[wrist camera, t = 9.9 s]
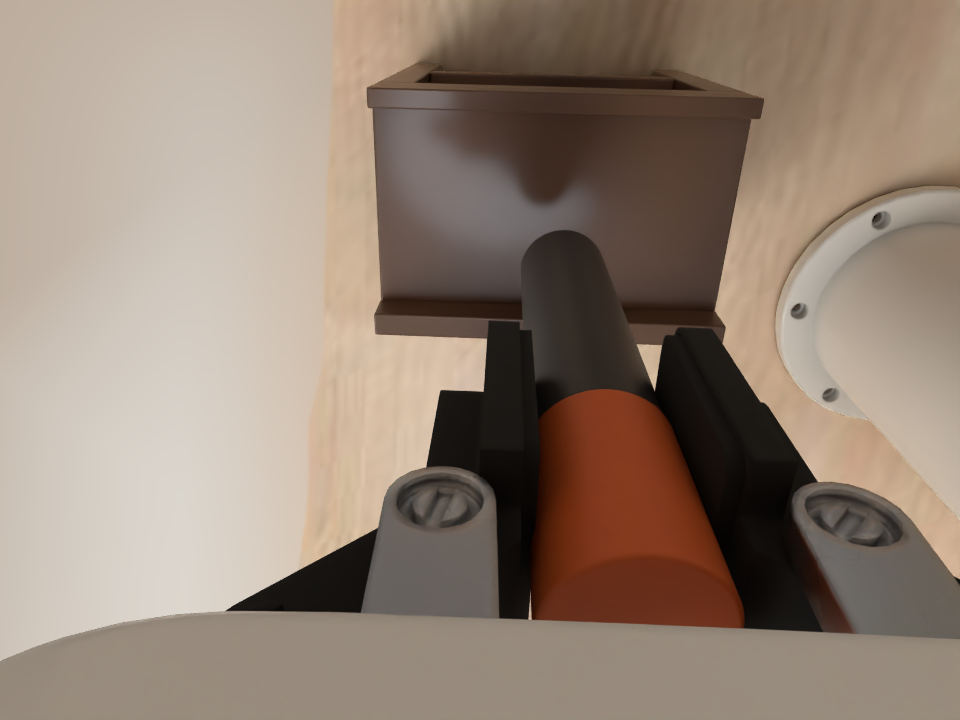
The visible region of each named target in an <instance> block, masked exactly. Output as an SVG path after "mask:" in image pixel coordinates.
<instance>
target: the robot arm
mask: <svg viewBox="0 0 960 720" xmlns="http://www.w3.org/2000/svg"><path fill="white" fill-rule="evenodd" d="M876 214H877V217H876V218H875V219H874V220H872V219H873V217H874V216H875V215H876ZM796 304H798V305H797V306H796V307H795V308H793V306H795V305H796ZM775 335H776V341H777V348H778V352H779V354H780V357H781V359H782V362H783V364H784V367H785V369H786V370H787V371H788V373H789V374H790V376H791V377H792V379H793V380H794V381H795V383H796V384H797V385H798V386H799V387H800V388H801V389H802V391H803V392H804V393H805V394H806V395H807V396H808V397H809V398H811V399H812V400H813V401H815V402H816V403H817V404H819V405H820V406H822V407H824V408H826V409H829V410H831V411H833V412H836V413H838V414H840V415H843V416H848V417H853V418H857V419H862V420H870V421H871V422H872V423H873V425H874V426H875V427H876V428H877V429H878V430H879V431H880V432H881V434H882V435H883V436H884V437H885V438H886V439H887V440H888V441H889V443H890V444H891V445H892V446H893V447H894V448H895V449H896V450H897V452H898V453H899V454H900V455H901V456H902V457H903V458H904V459H905V461H906V462H907V463H908V464H909V465H910V466H911V467H912V468H913V470H914V471H915V472H916V473H917V474H918V475H919V476H920V477H921V479H922V480H923V481H924V482H925V483H926V484H927V485H928V486H929V488H930V489H931V490H932V491H933V492H934V493H935V494H936V495H937V497H938V498H939V499H940V500H941V501H942V502H943V503H944V504H945V506H946V507H947V508H948V509H949V510H950V511H951V512H952V513H953V515H954V516H955V517H956V518H957V519H958V520H959V521H960V188H958V187H954V186H921V187H915V188H908V189H902V190H898V191H895V192H892V193H889V194H886V195H883V196H880V197H877V198H874V199H872V200H870V201H868V202H866V203H864V204H862V205H860V206H858V207H856V208H854V209H853V210H851V211H849V212H848V213H846V214H845V215H843V216H842V217H841V218H839V219H838V220H836V221H835V222H834V223H832V224H831V225H830V226H828V227H827V228H826V229H825V230H824V231H823V232H822V233H821V234H820V235H819V236H818V237H817V238H816V239H815V240H814V241H813V242H812V243H811V244H810V245H809V246H808V247H807V248H806V250H805V251H804V253H803V254H802V255H801V257H800V258H799V259H798V261H797V262H796V263H795V265H794V266H793V268H792V270H791V272H790V274H789V276H788V278H787V280H786V282H785V284H784V286H783V288H782V292H781V295H780V299H779V302H778V306H777V309H776V322H775ZM655 394H656V396H657V399H658V401H659V404H660V407H661V409H662V412H663V414H664V415H665V416H666V418H667V419H668V421H669V422H670V424H671V426H672V428H673V431H674V433H675V436H676V438H677V441H678V443H679V446H680V448H681V451H682V453H683V456H684V458H685V461H686V463H687V466H688V469H689V471H690V474H691V476H692V479H693V481H694V484H695V486H696V489H697V491H698V494H699V496H700V499H701V501H702V504H703V506H704V509H705V511H706V514H707V516H708V519H709V521H710V524H711V526H712V529H713V532H714V534H715V537H716V539H717V542H718V544H719V547H720V549H721V552H722V554H723V557H724V559H725V562H726V564H727V567H728V569H729V572H730V574H731V577H732V579H733V582H734V584H735V587H736V589H737V592H738V595H739V597H740V600H741V602H742V605H743V610H744V616H745V625H744V629H740V628H717V627H694V626H671V625H648V624H626V623H601V622H576V621H551V620H528V617H529V604H530V590H531V585H530V557H529V551H530V544H531V540H532V537H533V534H534V532H535V523H536V510H537V496H538V483H539V468H540V439H539V425H538V411H537V398H536V384H535V370H534V356H533V342H532V330H520V322H519V321H491V320H489V322H488V337H487V352H486V367H485V382H484V392H476V391H449V390H441V391H440V395H439V400H438V406H437V411H436V417H435V422H434V428H433V433H432V439H431V444H430V450H429V455H428V461H427V466H426V468H422V469H418V470H415V471H411V472H409V473H407V474H405V475H404V476H402V477H400V478H398V479H397V480H396V481H395V482H394V483H393V484H392V485H391V486H390V487H389V489H388V491H387V493H386V495H385V497H384V502H383V506H382V511H381V516H380V521H379V526H378V528H377V529H375V530H373V531H371V532H369V533H368V534H366V535H364V536H362V537H360V538H358V539H356V540H355V541H353V542H351V543H349V544H347V545H345V546H343V547H342V548H340V549H338V550H336V551H334V552H332V553H330V554H328V555H327V556H325V557H323V558H321V559H319V560H317V561H315V562H314V563H312V564H310V565H308V566H306V567H304V568H302V569H300V570H299V571H297V572H295V573H293V574H291V575H289V576H288V577H286V578H284V579H282V580H280V581H278V582H276V583H275V584H273V585H271V586H269V587H267V588H265V589H263V590H261V591H260V592H258V593H256V594H254V595H252V596H250V597H248V598H246V599H245V600H243V601H241V602H239V603H237V604H236V605H233V606H232V607H231V608H229V609H228V610H226V611H224V612H208V613H193V614H192V613H191V614H176V615H170V616H163V617H156V618H149V619H143V620H136V621H129V622H123V623H118V624H114V625H111V626H106V627H102V628H98V629H95V630H91V631H86V632H83V633H79V634H75V635H71V636H67V637H63V638H60V639H58V640H54V641H51V642H49V643H45V644H42V645H39V646H36V647H34V648H31V649H29V650H26V651H24V652H21V653H19V654H16V655H14V656H11V657H9V658H7V659H4V660H2V661H0V720H960V579H958V578H956V577H954V576H953V575H952V574H951V573H950V571H949V570H948V569H947V567H946V566H945V565H944V563H943V562H942V561H941V559H940V558H939V556H938V555H937V554H936V552H935V551H934V550H933V548H932V547H931V546H930V544H929V543H928V542H927V540H926V539H925V538H924V536H923V535H922V534H921V532H920V531H919V530H918V528H917V527H916V526H915V524H914V523H913V522H912V520H911V519H910V518H909V517H908V516H907V515H906V514H905V513H904V512H903V511H902V510H901V509H900V508H899V507H897V506H896V505H894V504H893V503H891V502H890V501H888V500H887V499H885V498H883V497H881V496H879V495H877V494H875V493H873V492H870V491H868V490H866V489H862V488H859V487H856V486H852V485H849V484H843V483H836V482H818V481H817V480H816V478H815V477H814V475H813V474H812V472H811V471H810V469H809V468H808V466H807V465H806V463H805V462H804V460H803V459H802V457H801V456H800V454H799V453H798V451H797V450H796V448H795V447H794V445H793V444H792V442H791V441H790V439H789V438H788V436H787V435H786V433H785V431H784V430H783V428H782V427H781V425H780V424H779V422H778V421H777V419H776V418H775V416H774V415H773V413H772V412H771V410H770V409H769V407H768V406H767V405H766V404H765V403H761V402H760V401H759V400H758V398H757V396H756V395H755V393H754V392H753V390H752V389H751V387H750V386H749V384H748V383H747V381H746V379H745V378H744V376H743V375H742V373H741V372H740V370H739V369H738V367H737V366H736V364H735V362H734V361H733V359H732V358H731V356H730V355H729V353H728V352H727V350H726V349H725V347H724V346H723V344H722V342H721V341H720V339H719V338H718V336H717V335H716V333H715V332H714V330H713V329H712V328H689V327H679V328H677V330H676V332H675V335H666V336H665V337H664V340H663V344H662V350H661V356H660V363H659V369H658V376H657V382H656V388H655Z"/></svg>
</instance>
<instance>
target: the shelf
mask: <svg viewBox="0 0 960 720" xmlns="http://www.w3.org/2000/svg"><path fill="white" fill-rule="evenodd" d="M763 104H764V98H761V97H758V96H754V95H751V94H748V93H745V92H742V91H739V90H736V89H733V88H730V87H727V86H724V85H721V84H718V83H715V82H711V81H708V80H705V79H702V78H699V77H696V76H693V75H690V74H687V73H684V72H681V71H678V70H653V71H652V77H644V76H607V75H570V74H533V73H496V72H459V71H441V65H440V64H414V65H412V66H410V67H408V68H406V69H404V70H402V71H400V72H398V73H396V74H394V75H392V76H390V77H388V78H386V79H384V80H382V81H380V82H378V83H376V84H374V85H371V86H369V87H367V106H368V108H373V129H374V151H375V173H376V195H377V217H378V239H379V260H380V282H381V301H380V303H379V306H378V308H377V310H376V312H375V314H374V319H375V333H376V334H379V335H406V336H433V337H460V338H487V337H488V322H489V320H491V321H519V322H520V330H523V317H522V295H521V271H520V269H521V263H522V259H523V256H524V254H525V252H526V250H527V249H528V248H529V246H530V245H531V244H532V243H533V242H534V241H535V240H536V239H538V238H539V237H541V236H542V235H544V234H547V233H549V232H552V231H557V230H571V231H575V232H578V233H581V234H583V235H585V236H587V237H588V238H589V239H591V240H592V241H593V242H594V243H595V244H596V246H597V247H598V249H599V250H600V252H601V255H602V257H603V260H604V262H605V265H606V267H607V270H608V273H609V275H610V278H611V280H612V283H613V285H614V288H615V291H616V293H617V296H618V298H619V301H620V304H621V306H622V309H623V311H624V314H625V316H626V319H627V322H628V324H629V327H630V329H631V332H632V334H633V337H634V340H635V342H636V344H649V345H662V344H663V340H664V337H665V336H666V335H675V332H676V330H677V328H679V327H689V328H712V329H713V330H714V332H715V333H716V335H717V336H718V338H719V339H720V341H721V342H722V343H723V338H724V333H725V328H726V327H725V325H724V324H723V322H722V321H721V319H720V318H719V316H718V315H717V314H716V312H715V306H716V301H717V296H718V291H719V285H720V280H721V275H722V270H723V264H724V259H725V254H726V249H727V243H728V238H729V233H730V228H731V222H732V217H733V212H734V207H735V201H736V196H737V191H738V186H739V180H740V175H741V170H742V165H743V159H744V154H745V149H746V144H747V138H748V133H749V128H750V123H751V119H760V118H761V114H762V109H763Z"/></svg>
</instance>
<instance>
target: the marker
mask: <svg viewBox="0 0 960 720" xmlns="http://www.w3.org/2000/svg"><path fill="white" fill-rule="evenodd" d="M520 271H521V295H522V317H523V330H532V342H533V356H534V370H535V384H536V398H537V411H538V425H539V439H540V468H539V483H538V496H537V510H536V523H535V532H534V534H533V537H532V540H531V544H530V551H529V557H530V585H531V612H532V620H551V621H576V622H601V623H626V624H648V625H671V626H694V627H717V628H740V629H744V625H745V616H744V610H743V605H742V602H741V600H740V597H739V595H738V592H737V589H736V587H735V584H734V582H733V579H732V577H731V574H730V572H729V569H728V567H727V564H726V562H725V559H724V557H723V554H722V552H721V549H720V547H719V544H718V542H717V539H716V537H715V534H714V532H713V529H712V526H711V524H710V521H709V519H708V516H707V514H706V511H705V509H704V506H703V504H702V501H701V499H700V496H699V494H698V491H697V489H696V486H695V484H694V481H693V479H692V476H691V474H690V471H689V469H688V466H687V463H686V461H685V458H684V456H683V453H682V451H681V448H680V446H679V443H678V441H677V438H676V436H675V433H674V431H673V428H672V426H671V424H670V422H669V421H668V419H667V418H666V416H665V415H664V414H663V412H662V409H661V407H660V404H659V401H658V399H657V396H656V394H655V391H654V389H653V386H652V383H651V381H650V378H649V376H648V373H647V371H646V368H645V365H644V363H643V360H642V358H641V355H640V352H639V350H638V347H637V345H636V342H635V340H634V337H633V334H632V332H631V329H630V327H629V324H628V322H627V319H626V316H625V314H624V311H623V309H622V306H621V304H620V301H619V298H618V296H617V293H616V291H615V288H614V285H613V283H612V280H611V278H610V275H609V273H608V270H607V267H606V265H605V262H604V260H603V257H602V255H601V252H600V250H599V249H598V247H597V246H596V244H595V243H594V242H593V241H592V240H591V239H589V238H588V237H587V236H585V235H583V234H581V233H578V232H575V231H571V230H557V231H552V232H549V233H547V234H544V235H542V236H541V237H539V238H538V239H536V240H535V241H534V242H533V243H532V244H531V245H530V246H529V248H528V249H527V250H526V252H525V254H524V256H523V259H522V263H521V269H520Z"/></svg>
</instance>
